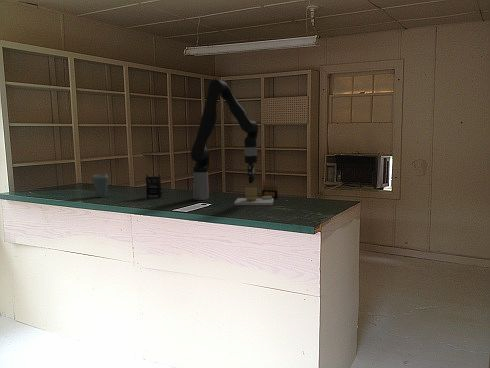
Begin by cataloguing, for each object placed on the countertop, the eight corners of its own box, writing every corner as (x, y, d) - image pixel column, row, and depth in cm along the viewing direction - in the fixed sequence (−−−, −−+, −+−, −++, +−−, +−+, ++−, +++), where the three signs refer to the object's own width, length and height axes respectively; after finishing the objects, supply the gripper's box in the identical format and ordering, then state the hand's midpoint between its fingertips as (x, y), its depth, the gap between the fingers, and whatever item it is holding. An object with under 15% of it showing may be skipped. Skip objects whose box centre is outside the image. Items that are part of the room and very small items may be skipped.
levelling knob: (244, 200, 258) (244, 188, 257) (246, 198, 264) (245, 187, 263) (259, 200, 257) (259, 188, 256) (260, 198, 263) (260, 187, 262)
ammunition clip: (261, 197, 278) (261, 178, 277) (262, 197, 280) (262, 178, 278) (277, 198, 273) (277, 179, 272) (278, 198, 275) (278, 179, 273)
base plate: (234, 205, 253) (234, 199, 253) (237, 200, 268) (237, 195, 268) (272, 205, 251) (272, 199, 250) (273, 200, 265) (273, 195, 265)
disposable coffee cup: (106, 198, 284) (105, 175, 282) (90, 198, 284) (88, 175, 282) (111, 195, 295) (110, 173, 293) (96, 195, 295) (94, 173, 293)
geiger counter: (163, 197, 286) (162, 174, 284) (161, 198, 281) (160, 175, 279) (148, 196, 287) (147, 174, 285) (145, 198, 282) (144, 175, 280)
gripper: (245, 154, 264) (246, 180, 266) (242, 155, 250) (243, 183, 252) (258, 153, 263) (258, 180, 265) (255, 155, 249) (256, 183, 251)
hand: (251, 182), depth 259 cm, fingers open, 8 cm apart
